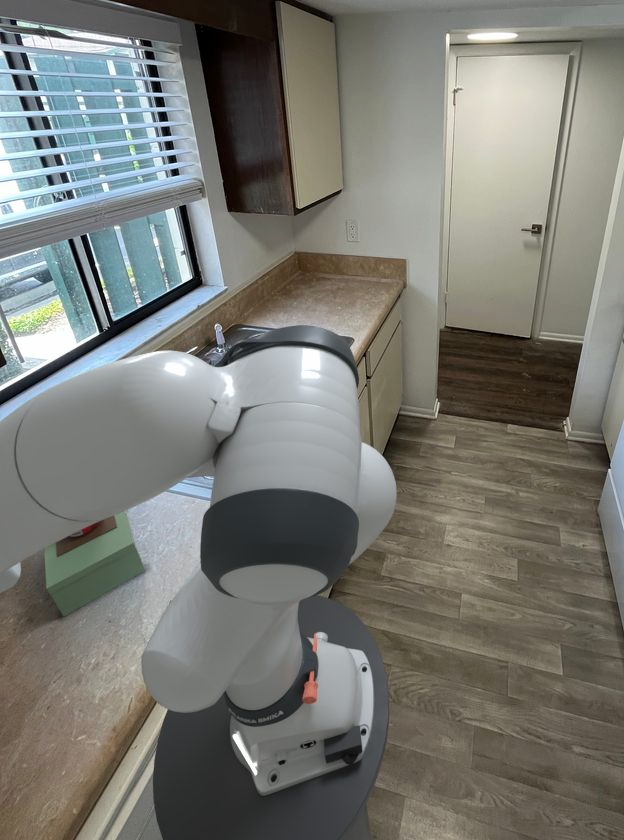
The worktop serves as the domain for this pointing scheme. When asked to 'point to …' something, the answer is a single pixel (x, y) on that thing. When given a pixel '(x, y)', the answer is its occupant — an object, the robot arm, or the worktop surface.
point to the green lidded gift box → (91, 563)
